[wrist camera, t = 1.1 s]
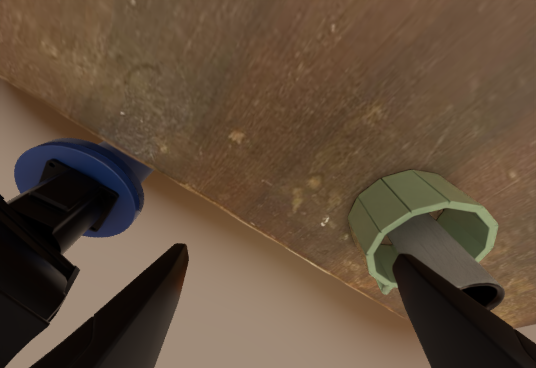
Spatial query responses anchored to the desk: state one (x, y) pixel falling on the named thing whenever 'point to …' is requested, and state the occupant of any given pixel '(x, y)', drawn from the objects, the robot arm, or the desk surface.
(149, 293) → the robot arm
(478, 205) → the mug
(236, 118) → the desk surface
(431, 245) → the grey hollow cylinder
